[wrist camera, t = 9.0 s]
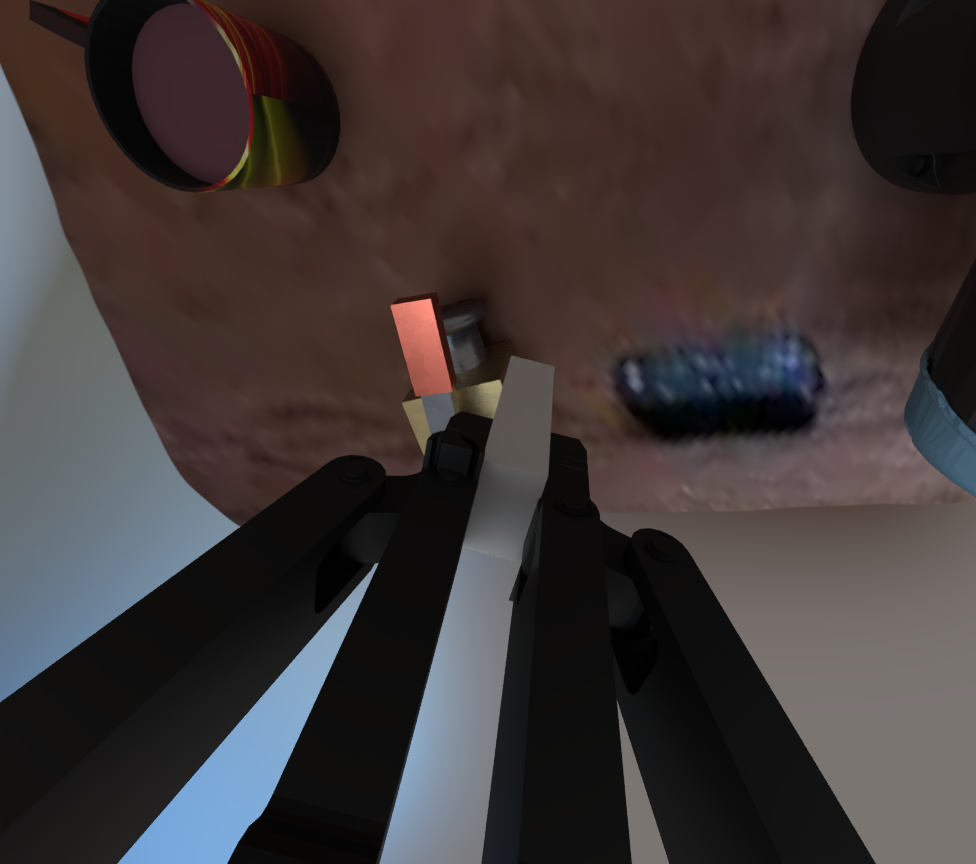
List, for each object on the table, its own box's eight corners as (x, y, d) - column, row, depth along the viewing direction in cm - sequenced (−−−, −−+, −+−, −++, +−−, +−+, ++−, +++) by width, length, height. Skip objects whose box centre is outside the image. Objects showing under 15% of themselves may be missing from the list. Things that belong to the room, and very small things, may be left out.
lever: (491, 455, 39) (483, 490, 34) (448, 459, 39) (435, 493, 35) (454, 279, 32) (439, 297, 28) (404, 288, 33) (381, 306, 29)
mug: (150, 37, 36) (-18, -13, 25) (328, 30, 34) (227, -27, 24) (190, 184, 40) (63, 193, 30) (349, 184, 39) (271, 192, 28)
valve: (411, 315, 43) (379, 349, 36) (496, 291, 41) (481, 321, 34) (470, 470, 51) (453, 526, 43) (544, 455, 49) (541, 512, 41)
